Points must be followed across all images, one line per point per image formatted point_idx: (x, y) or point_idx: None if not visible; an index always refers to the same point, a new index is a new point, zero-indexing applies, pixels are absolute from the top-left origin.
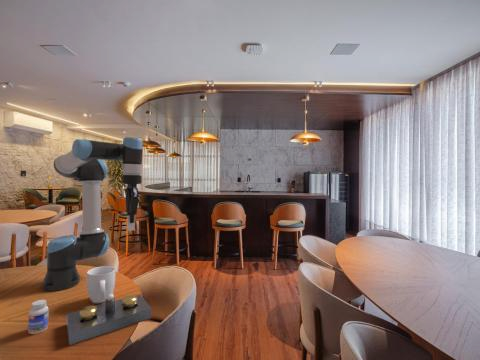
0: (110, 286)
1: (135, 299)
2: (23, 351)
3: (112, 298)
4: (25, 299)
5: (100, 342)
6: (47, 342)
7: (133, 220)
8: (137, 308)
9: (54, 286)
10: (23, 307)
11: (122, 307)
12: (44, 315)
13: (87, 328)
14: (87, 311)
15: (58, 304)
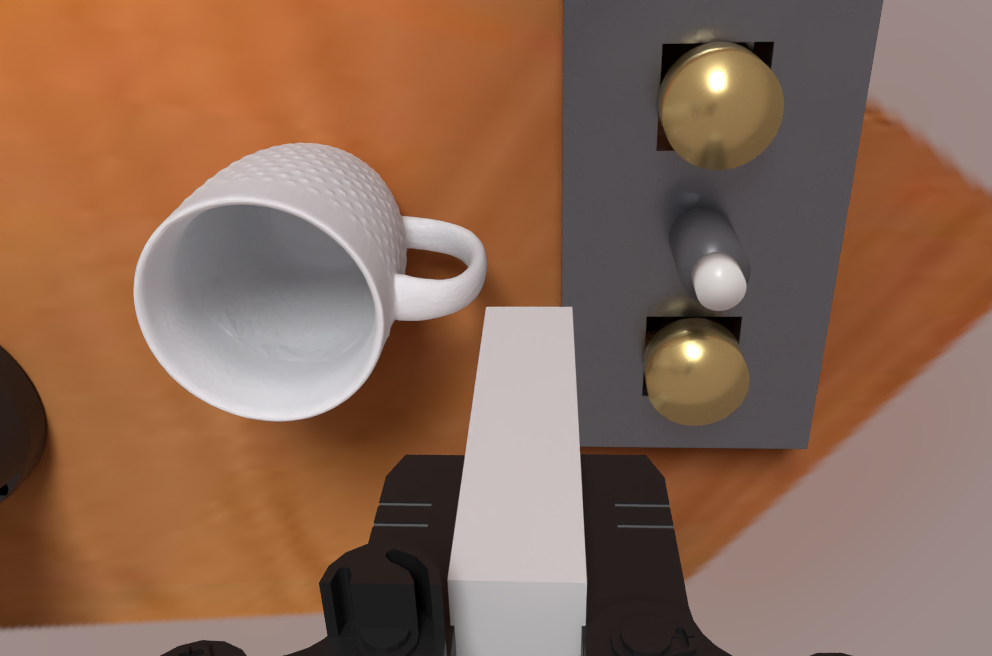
0: (384, 205)
1: (775, 76)
2: (691, 549)
3: (738, 266)
4: (112, 556)
5: (882, 287)
6: (684, 479)
7: (667, 518)
8: (810, 58)
9: (26, 462)
10: (221, 560)
11: None
12: None
13: (819, 372)
14: (724, 391)
15: (268, 429)
